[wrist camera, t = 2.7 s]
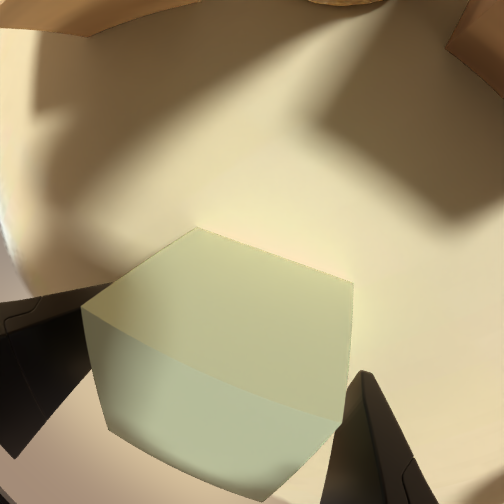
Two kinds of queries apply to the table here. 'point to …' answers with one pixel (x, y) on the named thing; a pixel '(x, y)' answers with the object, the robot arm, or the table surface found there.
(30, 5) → the oak cube
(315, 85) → the table surface
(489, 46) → the walnut cube
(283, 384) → the sage cube
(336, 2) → the spice jar
